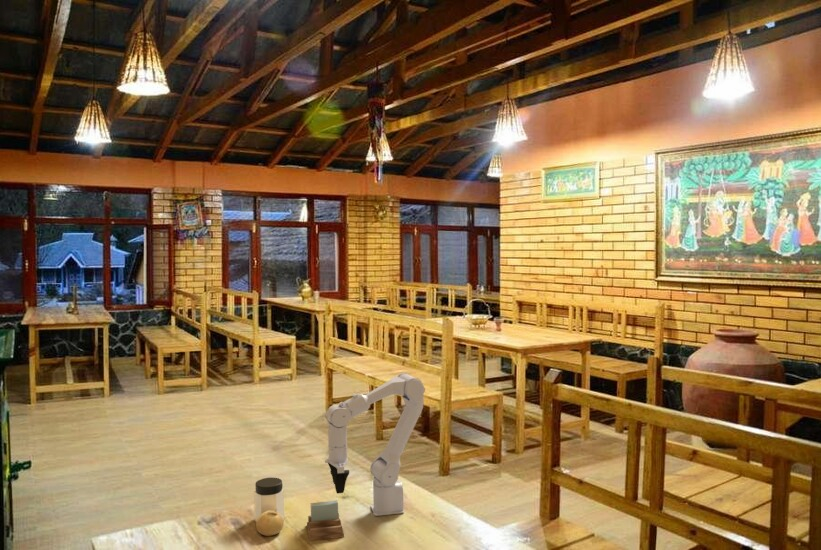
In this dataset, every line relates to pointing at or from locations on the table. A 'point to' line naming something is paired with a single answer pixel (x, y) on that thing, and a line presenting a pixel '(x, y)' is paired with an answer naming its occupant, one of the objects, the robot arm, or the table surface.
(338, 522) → the rack
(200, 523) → the table surface
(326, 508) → the pale green prism
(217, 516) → the table surface
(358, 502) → the table surface
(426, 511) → the table surface
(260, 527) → the onion
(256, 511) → the jar
